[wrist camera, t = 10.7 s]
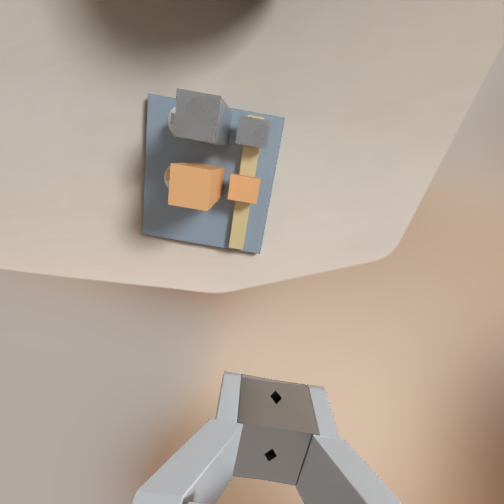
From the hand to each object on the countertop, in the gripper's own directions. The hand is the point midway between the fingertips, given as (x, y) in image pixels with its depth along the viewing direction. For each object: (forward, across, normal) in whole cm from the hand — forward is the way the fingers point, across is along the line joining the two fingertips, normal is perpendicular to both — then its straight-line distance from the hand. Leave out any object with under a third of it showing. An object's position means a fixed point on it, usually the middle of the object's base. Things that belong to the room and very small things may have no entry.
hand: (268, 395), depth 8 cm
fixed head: (+32, +7, -9) cm, 34 cm away
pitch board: (+33, +8, -2) cm, 34 cm away
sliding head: (+31, +7, -3) cm, 32 cm away
